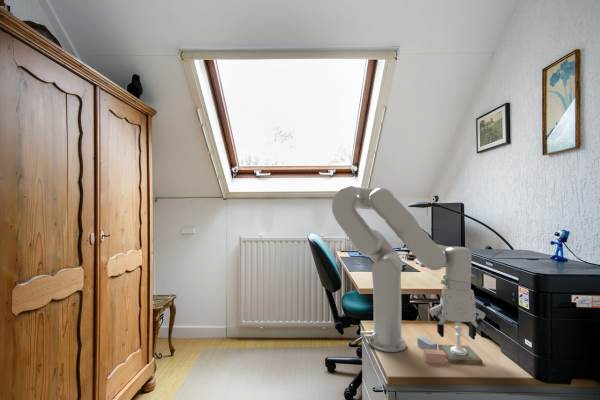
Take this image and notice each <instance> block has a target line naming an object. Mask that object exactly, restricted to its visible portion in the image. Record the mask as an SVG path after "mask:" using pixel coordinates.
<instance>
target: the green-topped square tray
mask: <svg viewBox="0 0 600 400" xmlns="http://www.w3.org/2000/svg"><path fill="white" fill-rule="evenodd" d="M455 345H456V344H454V345H453V344H437V349H438V350H443V351H444V353H445V354H446V362H448V363H449V364H450V363H451V364H466V365H467V364H469V365H483V360H482V358H481V357H480V356H479V355H478V354H477V353H476V352H475V351H474V350H473V349H472V348H471V347H470V346H469V345H461V346H462V347H463V348H464V349H466V350H467V354H466V355H457V354H454V353H452V352H451V351H450V349H451V347H453V346H455Z"/></svg>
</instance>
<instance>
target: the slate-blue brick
mask: <svg viewBox="0 0 600 400" xmlns="http://www.w3.org/2000/svg"><path fill="white" fill-rule="evenodd" d="M416 339H417V347H419V348H420V349H421V350H423V349H433V350H438V343H437V342H435V341H433V340H431V339H429V338H428V337H427V336H420V337H417V338H416Z"/></svg>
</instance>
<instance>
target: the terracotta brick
mask: <svg viewBox="0 0 600 400" xmlns="http://www.w3.org/2000/svg"><path fill="white" fill-rule="evenodd" d="M422 350H423V351H422V352H423V354H422V355H423V359H424V362H425V363H428V364H429V363H432V364H433V363H434V364H447V360H446V354H445V353H444V351H443V350H439V349H437V350H433V349H422Z"/></svg>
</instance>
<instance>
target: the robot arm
mask: <svg viewBox="0 0 600 400" xmlns="http://www.w3.org/2000/svg"><path fill="white" fill-rule="evenodd" d="M357 209H361V210H362V209H363V210H372V211H375V212H376V214H377V215H378V216H379V217H380V218H381V219H382V220H383V221H384V223H385V224H387V226H388V227H389V228H390V229H391V230H392V231H393V232H394V234H395V235H396V236H397V237H398V239H400V240H401V242H403V244H404V245H405V246H406V247H407V249H408V250H409V251H410V253H412V255H413V256H415V258H416V259H417V260H418V261H419V262H420V263H421V264H422V265H423V266H424V267H425V268H426V269H428V270H430V271H440V270H442V269H443V268H444V267H445V275H444V276H445V277H444V279H443V280H440V284H441V285H444V286H443V287H442V288H441V289H442V290H441V294H440V300H439V304H437V305H435V306H433V307H430V308H429V309H428V311H429V313H430V315H431V317H432V318H433V319H434V320H435V322H437V325H436V328H437V330H436V331H437V333H438V335H439V336H440V337H441V338H444V337H445V325H444V323H445V322H446V321H449V322H457V321H459V323H461V322H464V323H469V324H468V336H469V337H470V338H471V339H472V340H475V339H476V336H477V328H478V327H479V325H480V324H481V323H482V322H483V320H484V319H485V317H486V313H485V312H484V311H482V310H480V309H478V308H476V306H477V303H476V297H475V293H474V292H475V291H474V290H473V289H472V288H471V287H472V281H471V280H472V250H471V249H470V248H468V247H465V246H456V245H455V246H446V245H442V244H437V243H435V242H434V240H433V239H432V238H431V237H430V236H429V235H428V234H427V233H426V232H425V230H424V229H423V228H422V226H420V223H419V222H418V221H417V219H416V218H415V217H414V215H413V214H412V213H411V212H410V211H409V210H408V209H407V208H406V207H405V206H404V205H403V204H402V202H400V200H398V199H397V198H396V197H395V195H394V194H393V192H392V191H391V190H390V189H387V188H385V187H378V188H373V187H372V188H371V187H361V186H360V187H358V186H353V185H344V186H341V187H339V189H338V190H336V192H335V193H334V196H333V198H332V202H331V210H332V215H333V217H334V219H335V220H336V223H337V224H338V225H339V226H340V228H341V229H342V230H343V232H344V233H345V235H346V236H347V238H348V239H349V241H350V242H351V243H352V244H353V246H354V247H355V249H356V250H357V252H359V254H360V255H362V256H363V257H367V258H368V257H369V259H371V261H372V262H373V265H372V269H371V270H372V271H371V274H372V275H371V276H372V286H373V287H372V291H373V294H372V295H373V296H372V297H373V298H372V299H373V327H371V330H370V329H369V331H368V330H360V337H364V339H365V340H368V342H369V345H370V346H371V347H372V348H374V349H376V350H378V351H381V352H386V353H398V352H402V351H404V350H405V349H406V348H407V341H406V340H405V339H404V338H402V282H401V281H402V280H401V279H402V274H401V273H402V270H403V260H402V258H401V257H400V255H399V254H398V252H397V251H396V250H395V249H394V247H393V246H392V245H391V244H390V242H389V241H388V240H387V239H386V238H385V236H384V235H383V234H382V233H381V232H380V231H378V230H377V229H375V228H374V229H373V228H371V227H370V226H369V225H368V223H367V222H366V220H364V218H363V216H362V215H361V214H360V213H359V212H358V211H357ZM436 312H439V315H438V316H437V314H436ZM477 314H478V316H477Z"/></svg>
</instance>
